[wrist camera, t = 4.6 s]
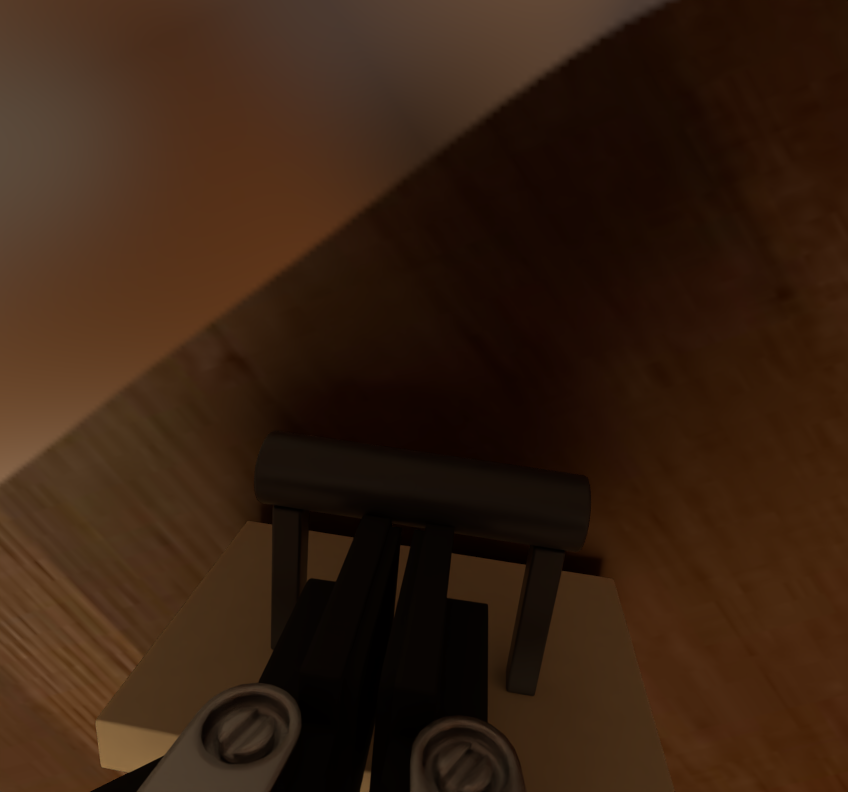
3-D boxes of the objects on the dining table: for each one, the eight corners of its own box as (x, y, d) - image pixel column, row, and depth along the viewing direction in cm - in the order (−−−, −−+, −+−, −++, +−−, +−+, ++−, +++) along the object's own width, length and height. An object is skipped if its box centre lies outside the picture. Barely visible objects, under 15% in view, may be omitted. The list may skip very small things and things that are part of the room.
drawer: (246, 357, 15) (63, 478, 9) (656, 412, 14) (780, 590, 8) (248, 818, 21) (140, 1088, 15) (537, 876, 20) (554, 1190, 14)
